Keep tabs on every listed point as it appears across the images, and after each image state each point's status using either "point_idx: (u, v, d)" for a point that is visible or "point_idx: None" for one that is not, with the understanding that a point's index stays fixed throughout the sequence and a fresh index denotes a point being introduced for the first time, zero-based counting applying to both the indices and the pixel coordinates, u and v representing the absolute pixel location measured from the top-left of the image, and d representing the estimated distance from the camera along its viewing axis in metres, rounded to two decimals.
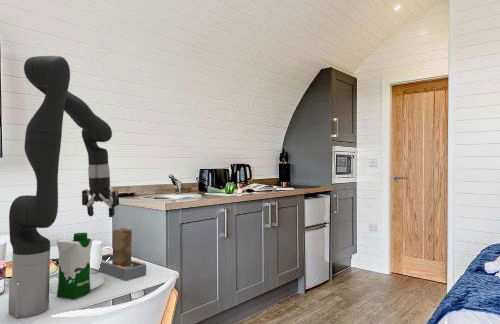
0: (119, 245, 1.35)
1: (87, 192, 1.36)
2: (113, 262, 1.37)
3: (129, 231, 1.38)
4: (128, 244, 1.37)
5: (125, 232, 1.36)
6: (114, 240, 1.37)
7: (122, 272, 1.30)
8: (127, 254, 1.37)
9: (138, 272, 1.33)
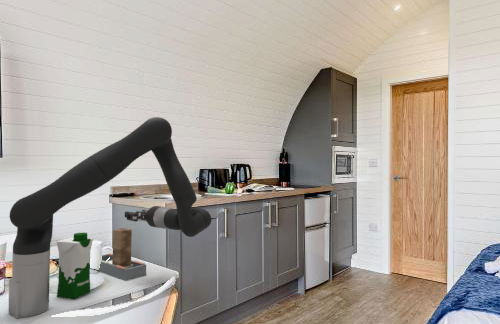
0: (119, 245, 1.35)
1: None
2: (113, 262, 1.37)
3: (129, 231, 1.38)
4: (128, 244, 1.37)
5: (125, 232, 1.36)
6: (114, 240, 1.37)
7: (122, 272, 1.30)
8: (127, 254, 1.37)
9: (138, 272, 1.33)
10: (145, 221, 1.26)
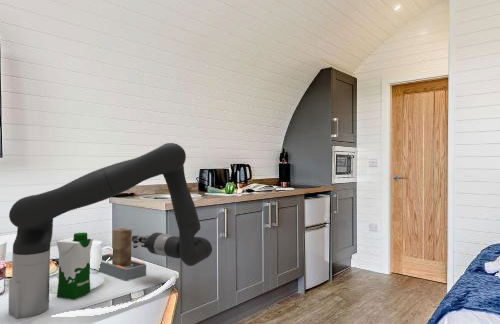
0: (119, 245, 1.35)
1: None
2: (113, 262, 1.37)
3: (129, 231, 1.38)
4: (128, 244, 1.37)
5: (125, 232, 1.36)
6: (114, 240, 1.37)
7: (122, 272, 1.30)
8: (127, 254, 1.37)
9: (138, 272, 1.33)
10: None
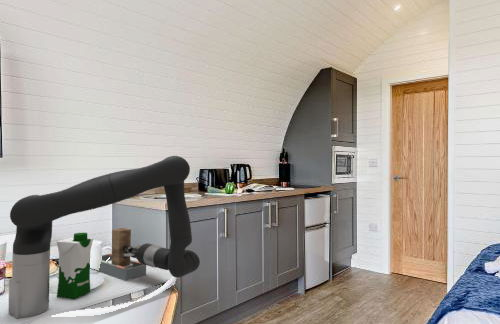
0: (118, 245, 1.35)
1: None
2: (112, 262, 1.37)
3: (128, 231, 1.38)
4: (127, 244, 1.38)
5: (124, 232, 1.36)
6: (113, 240, 1.37)
7: (122, 272, 1.30)
8: None
9: (138, 272, 1.33)
10: None
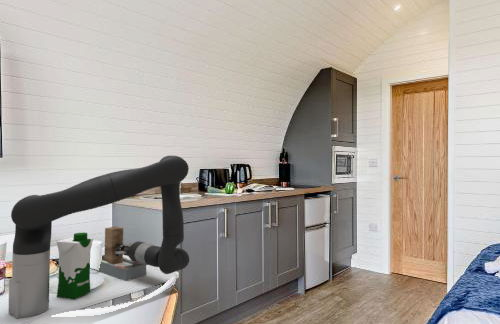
0: (111, 243, 1.38)
1: None
2: (105, 259, 1.40)
3: (121, 229, 1.41)
4: (120, 242, 1.41)
5: (117, 230, 1.40)
6: (106, 238, 1.40)
7: (122, 272, 1.30)
8: None
9: (138, 272, 1.33)
10: None
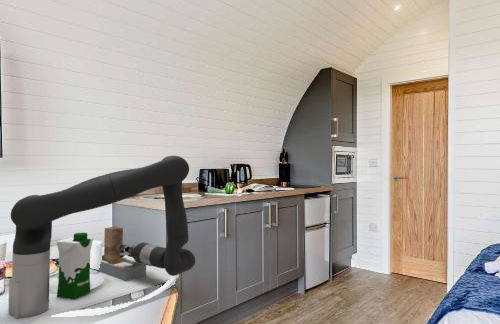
0: (110, 243, 1.38)
1: None
2: (105, 259, 1.40)
3: (120, 229, 1.41)
4: (119, 242, 1.41)
5: (116, 230, 1.40)
6: (106, 238, 1.40)
7: (122, 272, 1.30)
8: (118, 251, 1.40)
9: (138, 272, 1.33)
10: (132, 257, 1.31)
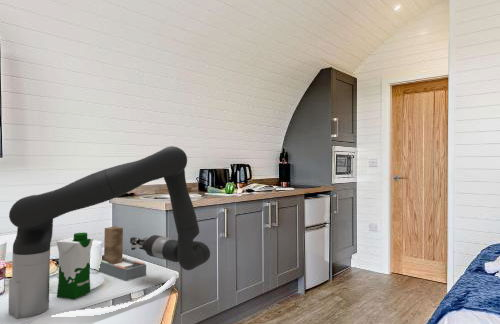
0: (110, 243, 1.38)
1: None
2: (105, 259, 1.40)
3: (120, 229, 1.41)
4: (119, 242, 1.41)
5: (116, 230, 1.40)
6: (106, 238, 1.40)
7: (122, 272, 1.30)
8: (118, 251, 1.40)
9: (138, 272, 1.33)
10: None
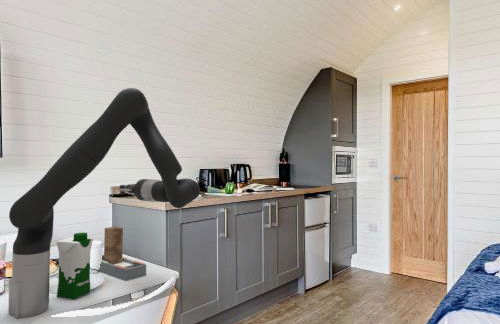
0: (110, 243, 1.38)
1: None
2: (105, 259, 1.40)
3: (120, 229, 1.41)
4: (119, 242, 1.41)
5: (116, 230, 1.40)
6: (106, 238, 1.40)
7: (122, 272, 1.30)
8: (118, 251, 1.40)
9: (138, 272, 1.33)
10: (132, 194, 1.23)
